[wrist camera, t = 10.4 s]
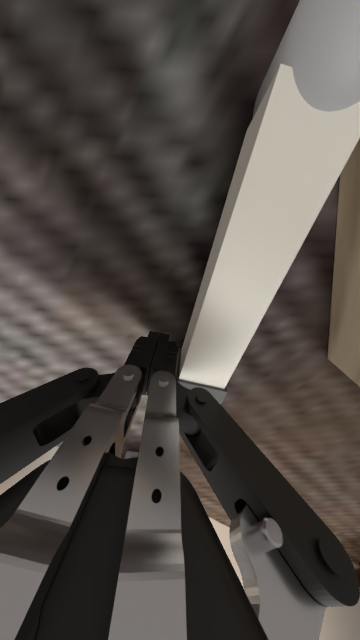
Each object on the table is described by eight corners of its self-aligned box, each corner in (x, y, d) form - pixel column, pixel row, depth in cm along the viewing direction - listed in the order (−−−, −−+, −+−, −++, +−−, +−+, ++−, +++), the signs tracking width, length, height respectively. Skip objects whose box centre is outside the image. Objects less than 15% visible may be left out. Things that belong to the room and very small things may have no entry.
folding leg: (267, 40, 6) (352, -180, 3) (350, 67, 7) (518, -113, 3) (173, 367, 15) (168, 405, 11) (210, 375, 15) (216, 415, 12)
